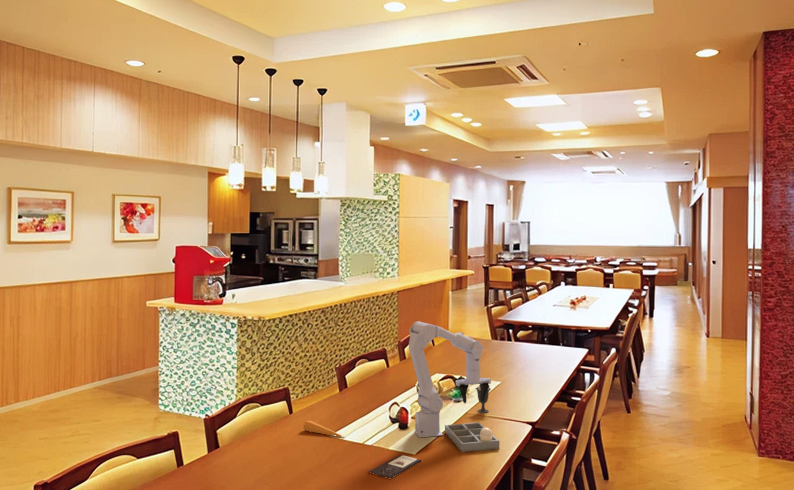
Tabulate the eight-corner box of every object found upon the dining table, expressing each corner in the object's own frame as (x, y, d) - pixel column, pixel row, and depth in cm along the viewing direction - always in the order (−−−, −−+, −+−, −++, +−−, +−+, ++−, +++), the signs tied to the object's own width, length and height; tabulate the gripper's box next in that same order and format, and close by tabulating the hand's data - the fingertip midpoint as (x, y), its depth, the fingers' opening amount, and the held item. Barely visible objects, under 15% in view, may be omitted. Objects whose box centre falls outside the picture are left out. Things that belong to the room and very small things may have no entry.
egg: (482, 447, 214) (482, 430, 214) (478, 443, 218) (478, 426, 218) (494, 446, 215) (494, 429, 215) (489, 442, 219) (489, 425, 219)
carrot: (302, 433, 235) (300, 424, 233) (309, 425, 239) (307, 417, 237) (343, 446, 225) (341, 437, 224) (350, 438, 229) (348, 429, 227)
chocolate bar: (368, 471, 193) (399, 454, 208) (368, 474, 193) (399, 457, 208) (390, 477, 188) (421, 459, 202) (390, 480, 188) (421, 462, 202)
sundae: (479, 414, 254) (479, 380, 254) (473, 409, 260) (473, 376, 260) (493, 412, 256) (493, 378, 255) (486, 408, 262) (486, 375, 262)
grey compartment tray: (461, 452, 211) (461, 443, 210) (444, 432, 231) (444, 425, 231) (499, 448, 213) (499, 440, 213) (479, 429, 234) (479, 422, 234)
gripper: (459, 372, 235) (459, 405, 235) (493, 370, 237) (493, 403, 238) (454, 368, 241) (454, 401, 242) (487, 366, 244) (487, 398, 245)
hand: (473, 401), depth 240 cm, fingers open, 7 cm apart
